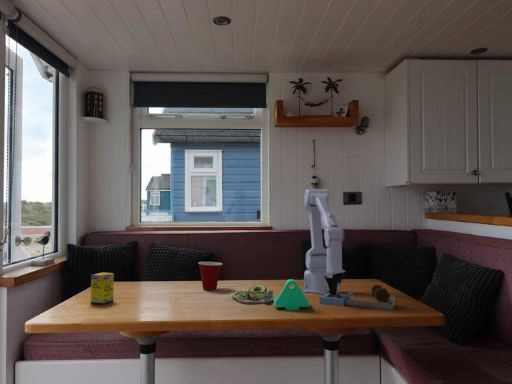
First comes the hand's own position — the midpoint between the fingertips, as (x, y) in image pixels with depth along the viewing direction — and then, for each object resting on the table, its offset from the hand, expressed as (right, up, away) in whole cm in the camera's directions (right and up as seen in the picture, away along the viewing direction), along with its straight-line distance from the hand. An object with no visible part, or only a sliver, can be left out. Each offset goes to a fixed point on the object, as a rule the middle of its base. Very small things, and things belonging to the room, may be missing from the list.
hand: (334, 293), depth 148 cm
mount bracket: (+12, -3, -4) cm, 14 cm away
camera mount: (-17, -3, -7) cm, 19 cm away
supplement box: (-89, -3, -1) cm, 89 cm away
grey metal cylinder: (0, -2, 0) cm, 2 cm away
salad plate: (-30, -4, +6) cm, 31 cm away
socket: (0, -3, 0) cm, 3 cm away
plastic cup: (-50, -4, +22) cm, 55 cm away
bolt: (+20, -4, +8) cm, 21 cm away
